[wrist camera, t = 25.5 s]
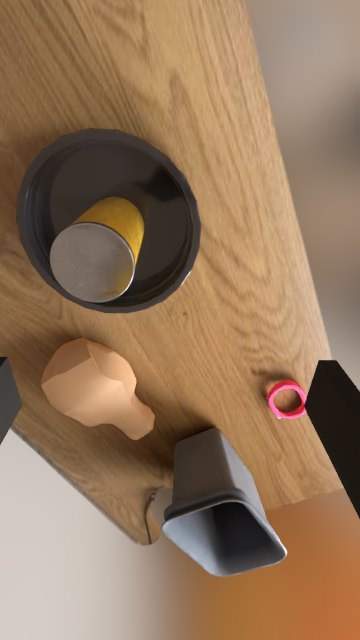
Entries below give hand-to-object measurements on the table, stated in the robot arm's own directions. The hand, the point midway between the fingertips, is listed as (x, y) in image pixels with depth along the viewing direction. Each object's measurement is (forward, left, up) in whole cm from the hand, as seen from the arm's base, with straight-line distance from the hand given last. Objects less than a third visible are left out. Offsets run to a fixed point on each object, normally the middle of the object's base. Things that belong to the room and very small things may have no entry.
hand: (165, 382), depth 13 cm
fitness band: (-20, +26, -27) cm, 43 cm away
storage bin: (-9, +43, -27) cm, 51 cm away
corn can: (+6, 0, -26) cm, 27 cm away
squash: (+8, +23, -27) cm, 36 cm away
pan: (+6, 0, -27) cm, 27 cm away
